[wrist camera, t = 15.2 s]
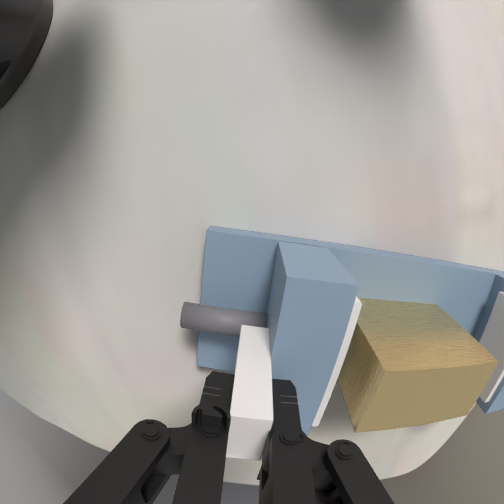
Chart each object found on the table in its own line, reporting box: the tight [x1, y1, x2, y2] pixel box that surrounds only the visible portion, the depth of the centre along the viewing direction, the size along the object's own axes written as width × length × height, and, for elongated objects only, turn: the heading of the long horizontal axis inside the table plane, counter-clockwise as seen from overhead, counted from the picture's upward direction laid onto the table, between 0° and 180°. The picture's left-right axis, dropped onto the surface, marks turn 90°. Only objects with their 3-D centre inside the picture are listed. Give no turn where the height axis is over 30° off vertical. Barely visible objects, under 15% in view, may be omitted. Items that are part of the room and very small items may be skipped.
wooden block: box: [338, 297, 498, 432], centre depth 15 cm, size 8×4×8 cm, turn 83°
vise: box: [197, 226, 504, 414], centre depth 16 cm, size 26×10×8 cm, turn 82°
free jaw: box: [180, 241, 362, 436], centre depth 15 cm, size 9×10×6 cm
